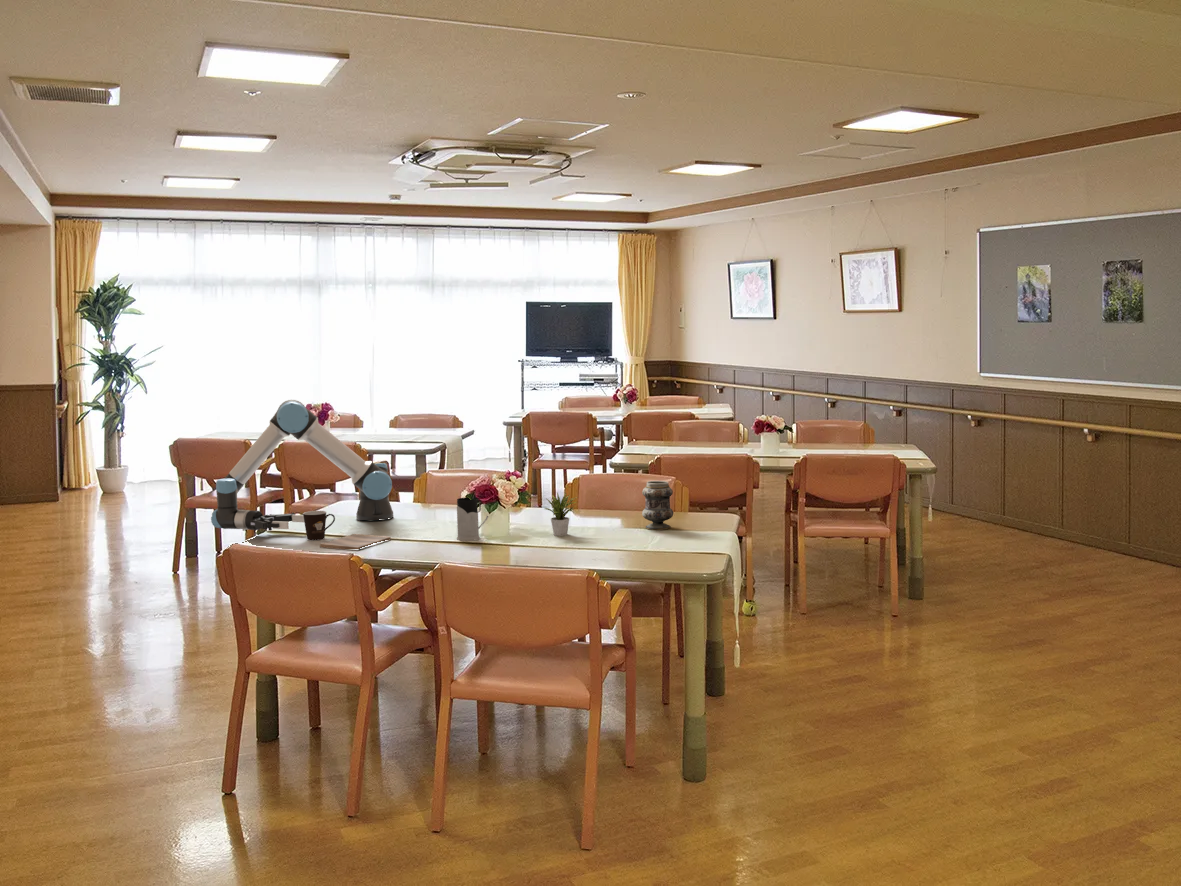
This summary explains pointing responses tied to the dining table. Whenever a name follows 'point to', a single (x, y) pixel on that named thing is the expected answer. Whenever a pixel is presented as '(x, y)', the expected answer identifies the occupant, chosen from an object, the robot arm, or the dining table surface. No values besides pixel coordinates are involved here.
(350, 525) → the dining table surface
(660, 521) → the apothecary jar
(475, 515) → the gray pitcher
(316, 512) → the coffee mug
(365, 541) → the spiral notebook
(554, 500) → the house plant
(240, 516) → the robot arm
